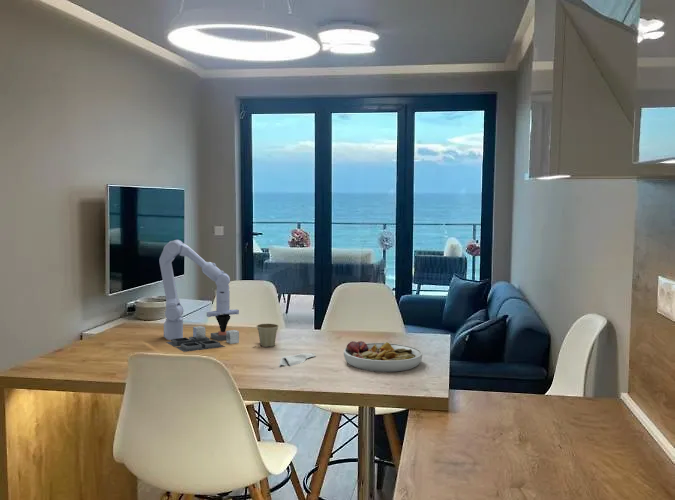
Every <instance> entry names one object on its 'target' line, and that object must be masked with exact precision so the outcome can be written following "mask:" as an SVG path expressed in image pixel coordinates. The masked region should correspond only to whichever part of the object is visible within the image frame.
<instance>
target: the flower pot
mask: <svg viewBox="0 0 675 500" xmlns="http://www.w3.org/2000/svg"><path fill="white" fill-rule="evenodd" d="M256 328H257V331H258V332H257V333H258V337H259V339H258V340H259V345H260V346H261V347H263V348H264V347H265V348H268V347H271V348H273V347H274V346H275V345H276V338H277V331H278V328H279V324H275V323H258V324H257V325H256Z"/></svg>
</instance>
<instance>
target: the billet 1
mask: <svg viewBox="0 0 675 500" xmlns="http://www.w3.org/2000/svg"><path fill="white" fill-rule="evenodd" d="M205 336H206V327H205V326H202V325H199V326H192V337H193V338H194V339H204V338H205Z"/></svg>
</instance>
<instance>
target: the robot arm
mask: <svg viewBox="0 0 675 500" xmlns="http://www.w3.org/2000/svg"><path fill="white" fill-rule="evenodd" d="M177 256H181V257H187V258H188V259H189V260H191V261H192V262H194V263H195V265H197V266H199V267H200V268H201V272H202V273H203V274H204V275H205V276H207V278H209V279H210V280H211V281H212V282H215V285H216V291H215V295H216V297H215V300H216V301H215V302H216V304H215V305H216V306H215V307H216V310H212V311H207V312H206V317H207V318H210V317H214V318H215V319H216V321H217V323H218V326H219V331H221V332H225V331H227V330H226V329H227V327H228V323H229V321H230V319H231V316H232V315H239V314H240V310H239V309H231V308H230V306H231V305H230V304H231V303H230V298H231V297H230V293H231V292H230V285H229V284H230V282H231V277H230V275H229V274H228V273H226V272H225V271H224V270H221V269H220V268H219V267H217V264H216V263H215V262H211V261H205V259H204V258H203V257H201V256H200V255H199V254H198V253H197V252H196V251H195V250H193V248H191V247H190V246H189V245H187V244H186V243H184V242H183V241H182V240H180V239H174V240H169V242H167V244H165V245H164V246H163V250H162V251H161V254H160V256H159V259H158V260H159V262H158V263H159V267H160V272H161V279H162V283H163V284H162V285H163V288H164V294H165V295H164V296H165V300H166V301H165V312H164V316H165V318H166V319H165V322H164V323H163V338H165V339H166V340H168V341H171V339H176V338H184V318H183V317H182V316H183V314H184V308H183V306H182V304H181V301H180V299H179V297H178V291H177V287H176V280H175V275H174V269H173V263H172V262H174V260H175V258H176V257H177Z"/></svg>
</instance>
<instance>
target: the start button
mask: <svg viewBox="0 0 675 500" xmlns="http://www.w3.org/2000/svg"><path fill="white" fill-rule="evenodd" d="M226 331H227V330H226ZM226 331H225V332H221V331H220V330H219V331H218V335H226Z"/></svg>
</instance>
